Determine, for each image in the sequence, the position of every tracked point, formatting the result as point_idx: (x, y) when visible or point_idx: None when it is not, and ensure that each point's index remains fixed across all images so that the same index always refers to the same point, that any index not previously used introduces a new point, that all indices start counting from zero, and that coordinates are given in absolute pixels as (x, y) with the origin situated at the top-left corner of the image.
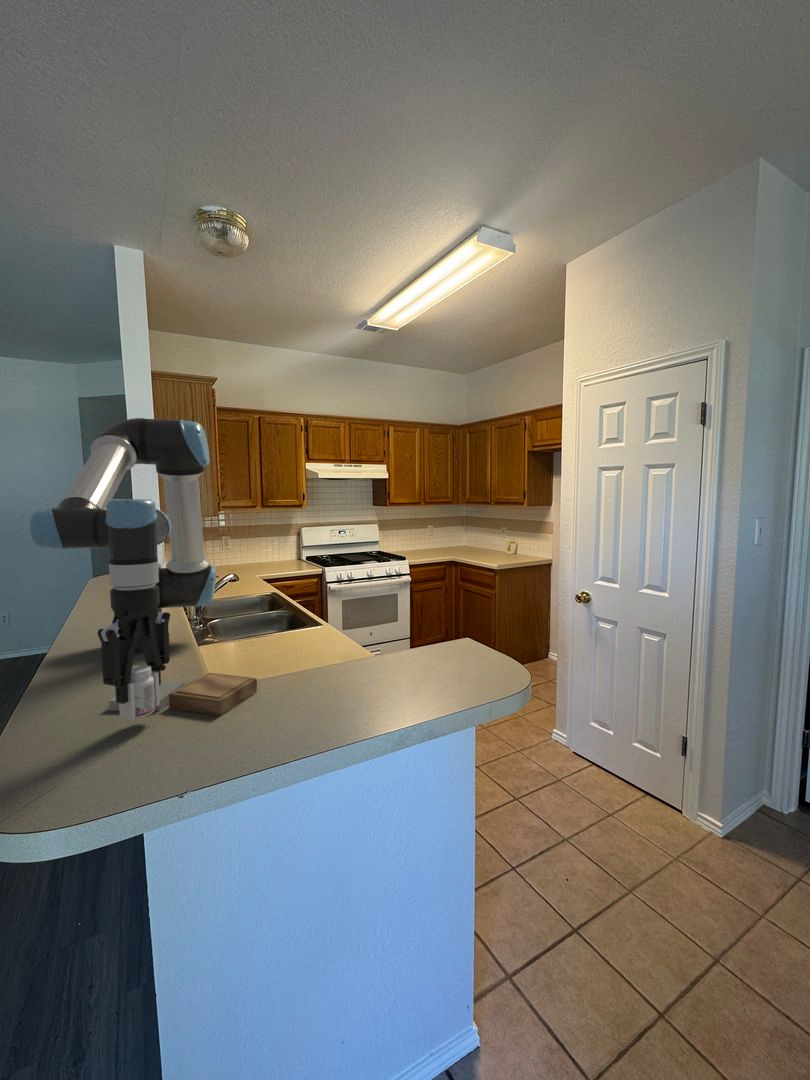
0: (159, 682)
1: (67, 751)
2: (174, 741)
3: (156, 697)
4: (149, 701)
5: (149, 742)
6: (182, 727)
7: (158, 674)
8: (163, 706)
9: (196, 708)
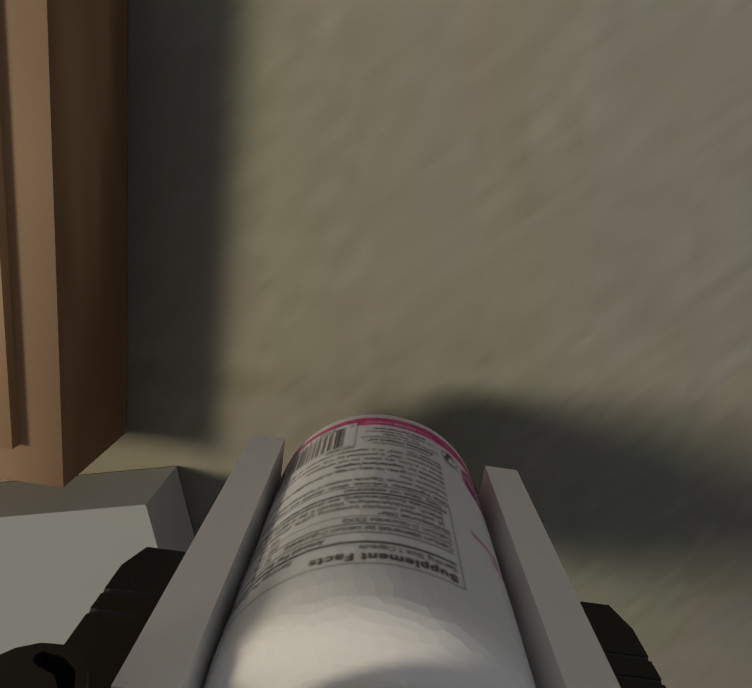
0: (139, 573)
1: (680, 621)
2: (552, 92)
3: (265, 478)
4: (402, 464)
5: (573, 261)
6: (353, 168)
7: (137, 647)
8: (126, 475)
9: (110, 208)
